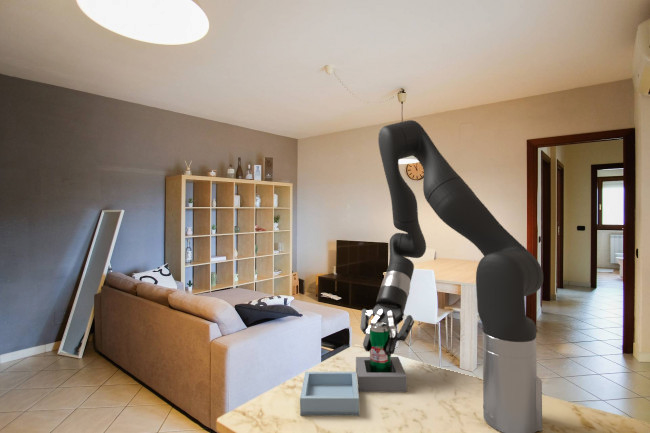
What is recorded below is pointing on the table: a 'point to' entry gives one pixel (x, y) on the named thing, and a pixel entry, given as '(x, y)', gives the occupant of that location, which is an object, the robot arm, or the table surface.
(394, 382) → the socket block
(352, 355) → the table surface
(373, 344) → the soda can
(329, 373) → the parts tray
